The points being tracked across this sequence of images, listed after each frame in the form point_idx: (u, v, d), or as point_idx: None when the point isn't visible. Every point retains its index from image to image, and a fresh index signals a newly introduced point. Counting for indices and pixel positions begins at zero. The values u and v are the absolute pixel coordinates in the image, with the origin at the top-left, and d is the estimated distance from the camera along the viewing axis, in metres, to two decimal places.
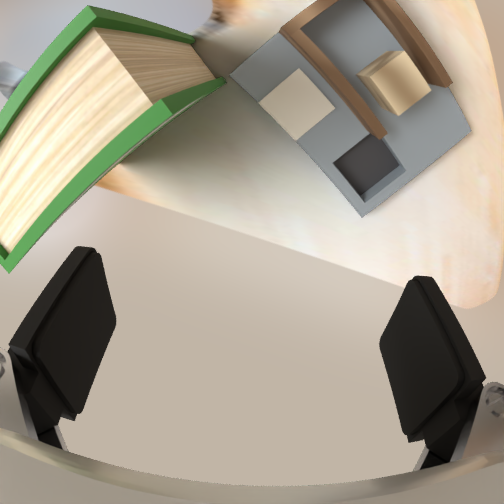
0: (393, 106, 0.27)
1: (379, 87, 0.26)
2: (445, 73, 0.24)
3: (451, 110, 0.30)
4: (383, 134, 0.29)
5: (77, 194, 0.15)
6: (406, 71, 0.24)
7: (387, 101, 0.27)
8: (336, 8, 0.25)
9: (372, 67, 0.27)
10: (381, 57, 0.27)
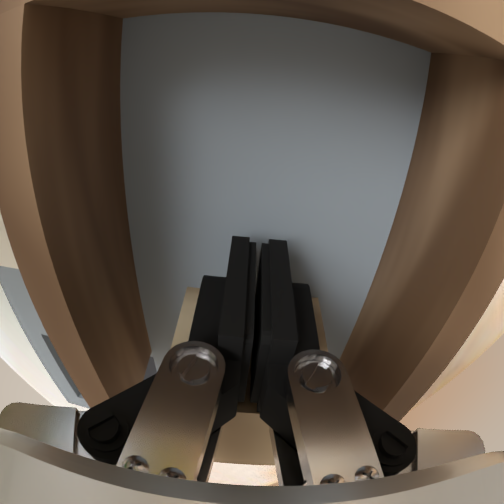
0: None
1: None
2: None
3: None
4: None
5: None
6: None
7: None
8: (324, 40, 0.07)
9: None
10: None
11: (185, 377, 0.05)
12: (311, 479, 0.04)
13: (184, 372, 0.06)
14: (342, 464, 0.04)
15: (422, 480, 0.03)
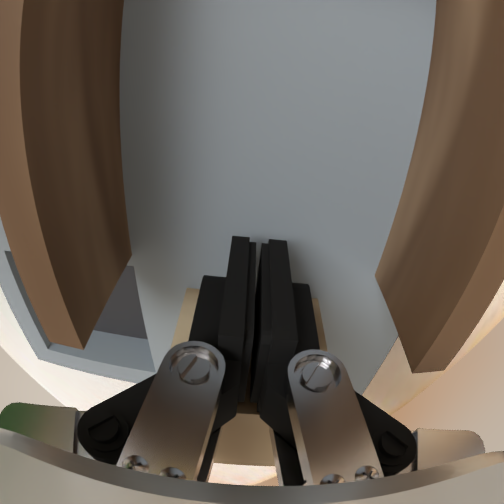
0: None
1: None
2: (460, 340, 0.07)
3: (362, 355, 0.14)
4: (66, 341, 0.07)
5: None
6: None
7: None
8: None
9: None
10: None
11: (185, 377, 0.05)
12: (311, 479, 0.04)
13: (184, 372, 0.06)
14: (342, 464, 0.04)
15: (422, 480, 0.03)
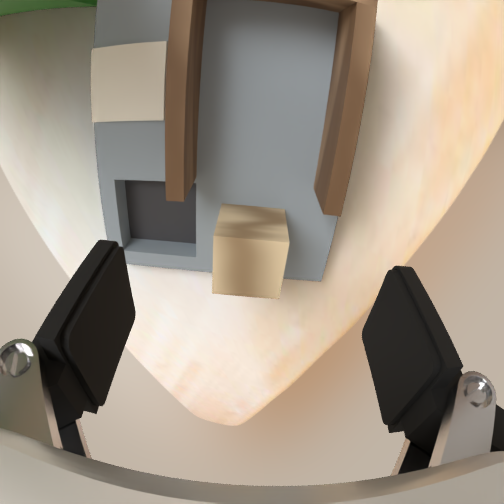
0: (214, 281, 0.23)
1: (214, 254, 0.21)
2: (341, 197, 0.19)
3: (315, 241, 0.27)
4: (176, 198, 0.20)
5: None
6: (266, 262, 0.22)
7: (213, 271, 0.23)
8: (290, 10, 0.16)
9: (239, 219, 0.23)
10: (267, 213, 0.24)
11: (14, 373, 0.05)
12: (438, 463, 0.04)
13: (12, 370, 0.05)
14: None
15: (422, 480, 0.03)
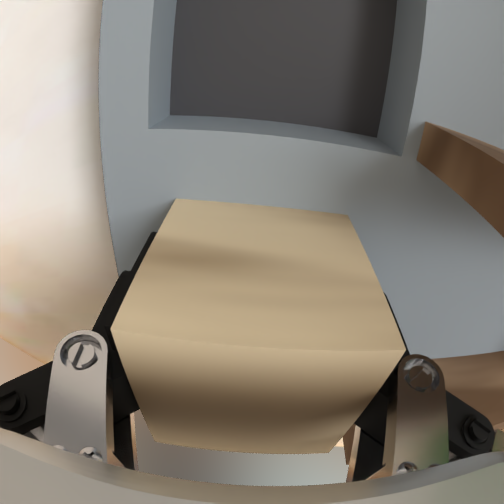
0: (177, 344, 0.05)
1: (328, 355, 0.05)
2: None
3: None
4: None
5: None
6: (277, 437, 0.07)
7: (221, 327, 0.05)
8: None
9: None
10: None
11: (76, 365, 0.05)
12: (392, 462, 0.04)
13: (74, 361, 0.05)
14: (420, 456, 0.04)
15: (422, 480, 0.03)
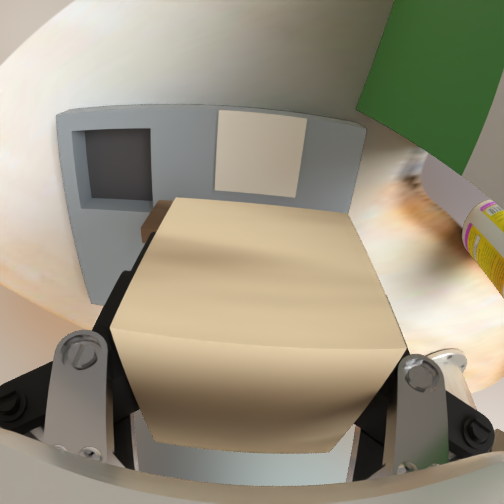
0: (176, 342, 0.05)
1: (329, 353, 0.05)
2: None
3: None
4: (144, 237, 0.21)
5: None
6: (277, 437, 0.07)
7: (221, 325, 0.05)
8: None
9: None
10: None
11: (76, 365, 0.05)
12: (392, 461, 0.04)
13: (74, 361, 0.05)
14: (420, 456, 0.04)
15: (422, 480, 0.03)
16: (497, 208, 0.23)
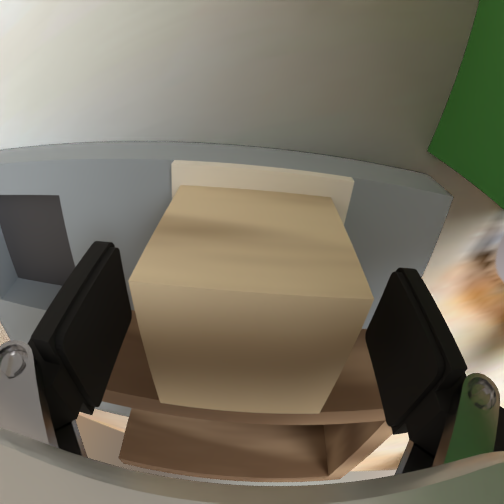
0: (182, 291, 0.06)
1: (306, 301, 0.06)
2: (140, 466, 0.17)
3: None
4: None
5: None
6: (269, 392, 0.08)
7: (219, 278, 0.06)
8: None
9: None
10: None
11: (9, 374, 0.05)
12: (442, 464, 0.04)
13: (7, 371, 0.05)
14: None
15: (422, 480, 0.03)
16: None
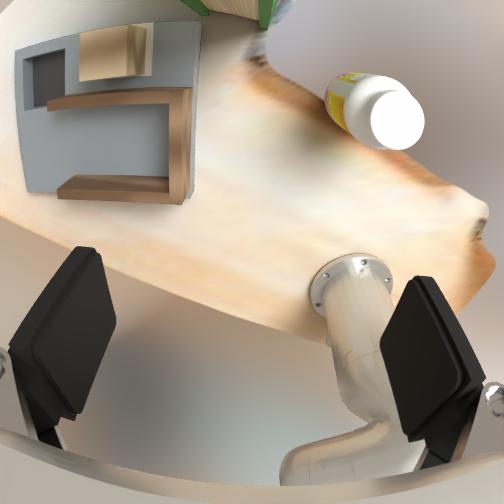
0: (90, 32, 0.20)
1: (113, 27, 0.20)
2: (66, 197, 0.31)
3: (47, 182, 0.34)
4: (48, 107, 0.25)
5: None
6: (108, 64, 0.22)
7: None
8: None
9: (137, 41, 0.23)
10: (141, 60, 0.25)
11: None
12: None
13: None
14: None
15: (422, 480, 0.03)
16: (351, 73, 0.27)
